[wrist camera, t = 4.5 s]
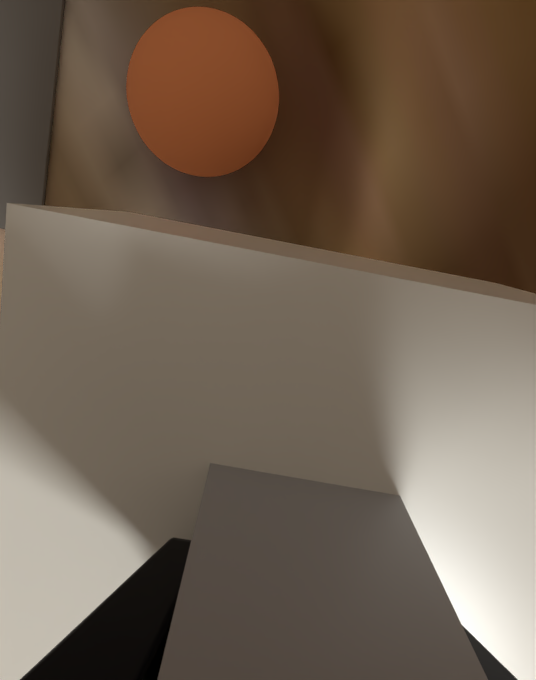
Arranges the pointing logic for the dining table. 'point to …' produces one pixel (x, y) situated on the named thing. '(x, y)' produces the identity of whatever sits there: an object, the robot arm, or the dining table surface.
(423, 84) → the dining table surface
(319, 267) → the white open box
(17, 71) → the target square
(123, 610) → the robot arm
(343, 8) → the dining table surface
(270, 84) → the ball
